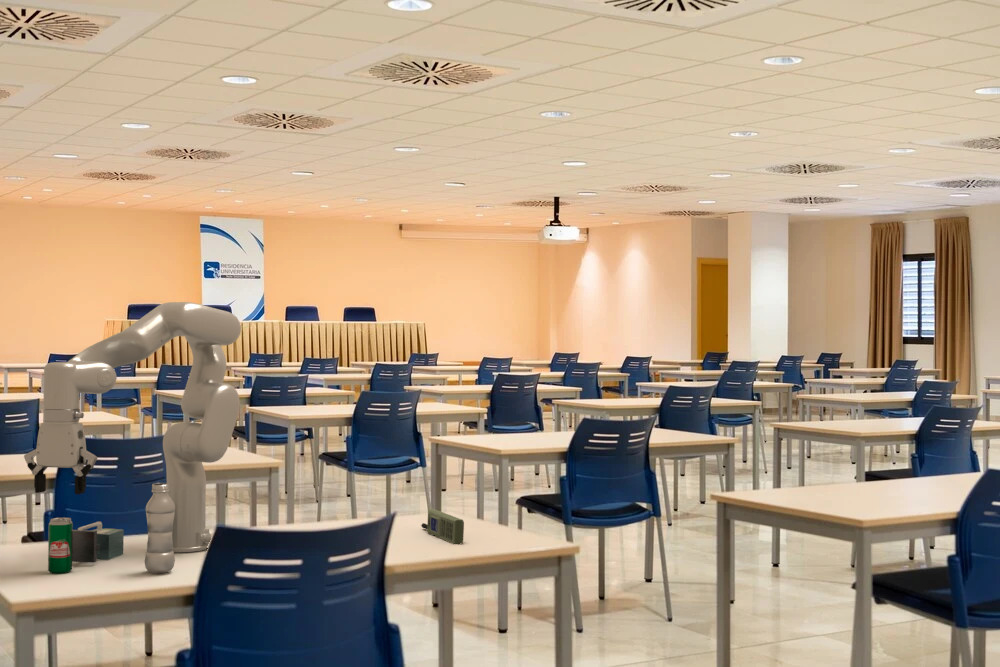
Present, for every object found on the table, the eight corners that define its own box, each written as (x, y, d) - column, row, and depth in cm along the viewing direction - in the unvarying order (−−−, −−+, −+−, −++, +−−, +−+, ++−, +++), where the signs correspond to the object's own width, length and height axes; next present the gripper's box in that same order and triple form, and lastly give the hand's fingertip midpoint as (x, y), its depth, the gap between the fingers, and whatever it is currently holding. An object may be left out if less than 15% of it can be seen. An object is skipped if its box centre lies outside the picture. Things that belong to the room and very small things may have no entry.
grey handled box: (93, 562, 258) (94, 529, 258) (62, 561, 259) (62, 527, 259) (115, 554, 267) (115, 522, 267) (84, 553, 269) (84, 521, 269)
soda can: (46, 575, 248) (47, 521, 248) (49, 570, 253) (50, 517, 253) (71, 573, 249) (71, 520, 249) (73, 569, 254) (73, 516, 254)
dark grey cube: (108, 559, 265) (108, 534, 265) (81, 558, 267) (81, 533, 267) (123, 554, 272) (123, 529, 272) (96, 553, 273) (97, 528, 273)
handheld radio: (452, 545, 288) (417, 530, 310) (464, 545, 289) (428, 529, 312) (454, 519, 288) (418, 506, 310) (465, 519, 289) (429, 506, 312)
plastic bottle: (163, 568, 256) (164, 481, 256) (180, 572, 252) (181, 483, 252) (138, 572, 251) (139, 484, 251) (155, 577, 247) (156, 486, 247)
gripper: (105, 416, 253) (104, 492, 253) (35, 415, 256) (34, 489, 256) (87, 418, 246) (86, 496, 246) (16, 417, 249) (15, 493, 249)
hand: (60, 492), depth 251 cm, fingers open, 9 cm apart
